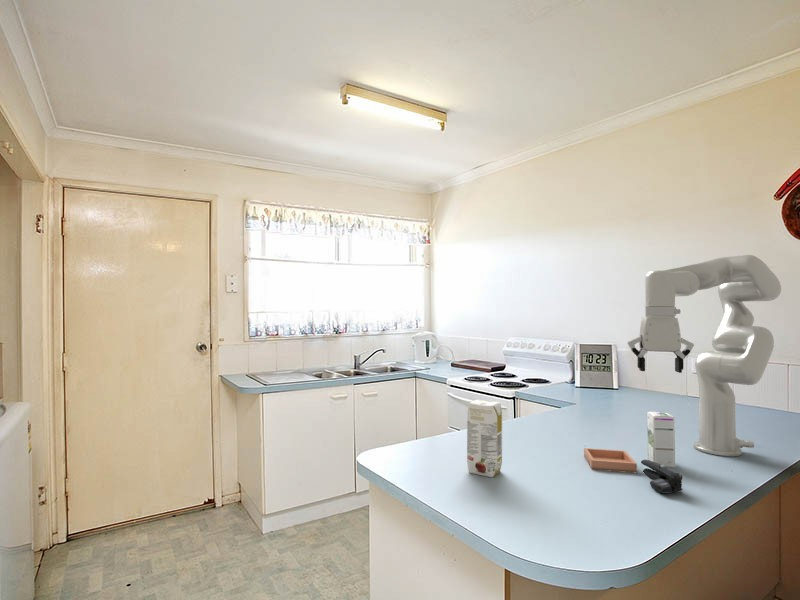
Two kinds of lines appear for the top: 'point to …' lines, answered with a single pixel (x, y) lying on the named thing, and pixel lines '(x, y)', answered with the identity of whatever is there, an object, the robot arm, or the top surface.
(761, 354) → the robot arm
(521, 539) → the top surface
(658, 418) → the syrup box
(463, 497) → the top surface
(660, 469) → the can opener
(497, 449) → the juice carton
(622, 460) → the tray
